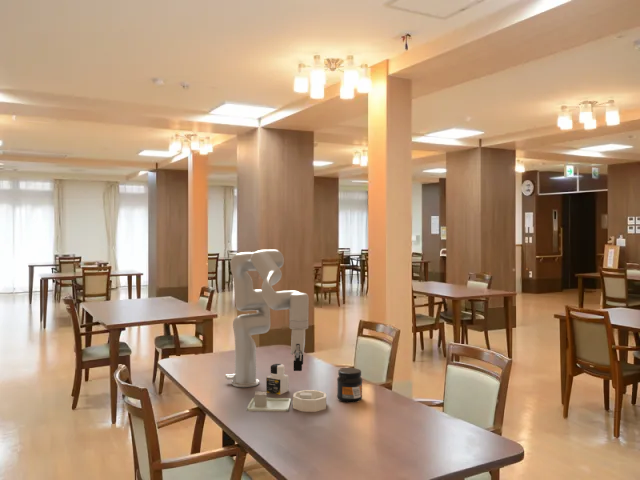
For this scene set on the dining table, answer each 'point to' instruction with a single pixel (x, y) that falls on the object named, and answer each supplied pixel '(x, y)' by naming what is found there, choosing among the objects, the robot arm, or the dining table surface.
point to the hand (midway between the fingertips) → (298, 367)
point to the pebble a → (305, 395)
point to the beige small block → (260, 399)
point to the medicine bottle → (277, 380)
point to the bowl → (310, 401)
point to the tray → (271, 405)
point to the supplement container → (349, 385)
